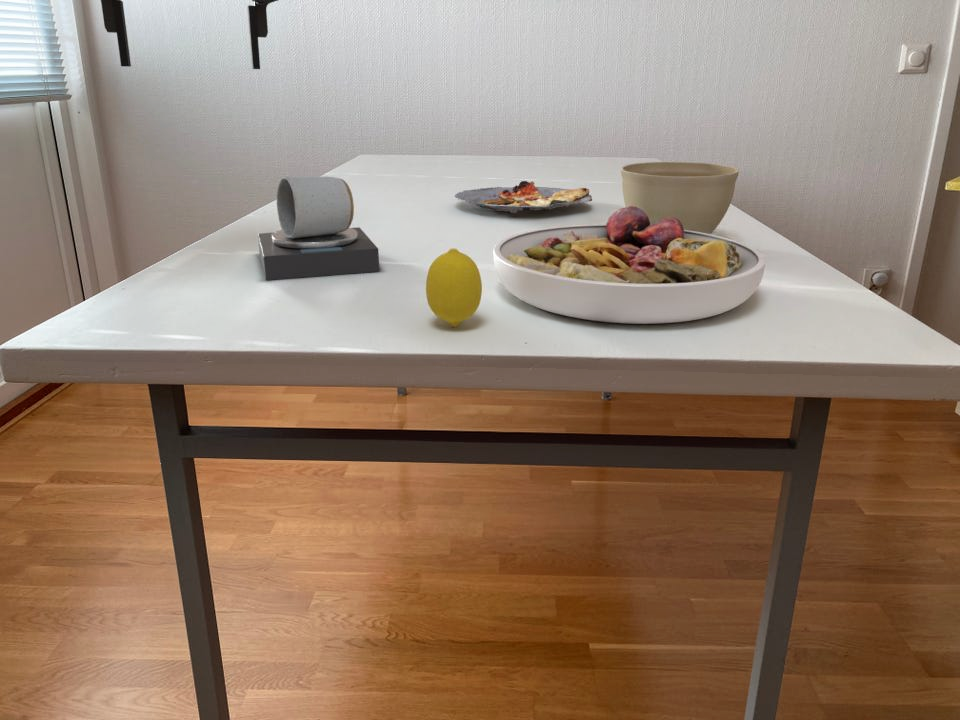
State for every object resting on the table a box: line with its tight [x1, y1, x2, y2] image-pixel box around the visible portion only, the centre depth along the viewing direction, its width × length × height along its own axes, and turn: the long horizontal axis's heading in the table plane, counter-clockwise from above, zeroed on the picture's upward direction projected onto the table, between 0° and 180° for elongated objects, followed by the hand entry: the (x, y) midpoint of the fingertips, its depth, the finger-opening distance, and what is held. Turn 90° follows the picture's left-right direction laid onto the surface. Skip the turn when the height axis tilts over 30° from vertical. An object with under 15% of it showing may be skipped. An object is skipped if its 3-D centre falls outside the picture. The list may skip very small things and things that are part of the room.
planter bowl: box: [620, 161, 740, 234], centre depth 112 cm, size 16×16×11 cm
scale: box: [257, 226, 380, 281], centre depth 102 cm, size 14×14×3 cm
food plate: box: [454, 180, 593, 214], centre depth 142 cm, size 25×23×4 cm
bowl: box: [492, 206, 766, 325], centre depth 88 cm, size 30×30×8 cm
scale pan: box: [272, 227, 358, 249], centre depth 102 cm, size 11×11×1 cm
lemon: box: [425, 248, 483, 328], centre depth 77 cm, size 6×6×8 cm
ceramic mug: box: [276, 175, 355, 239], centre depth 100 cm, size 11×8×8 cm
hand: (192, 68), depth 86 cm, fingers open, 13 cm apart
